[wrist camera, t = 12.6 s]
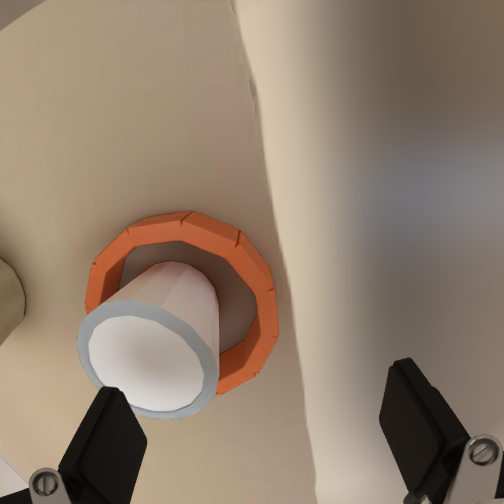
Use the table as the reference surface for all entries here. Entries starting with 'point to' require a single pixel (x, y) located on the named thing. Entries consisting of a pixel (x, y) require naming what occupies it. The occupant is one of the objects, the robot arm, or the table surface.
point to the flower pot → (10, 301)
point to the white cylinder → (156, 342)
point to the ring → (214, 241)
